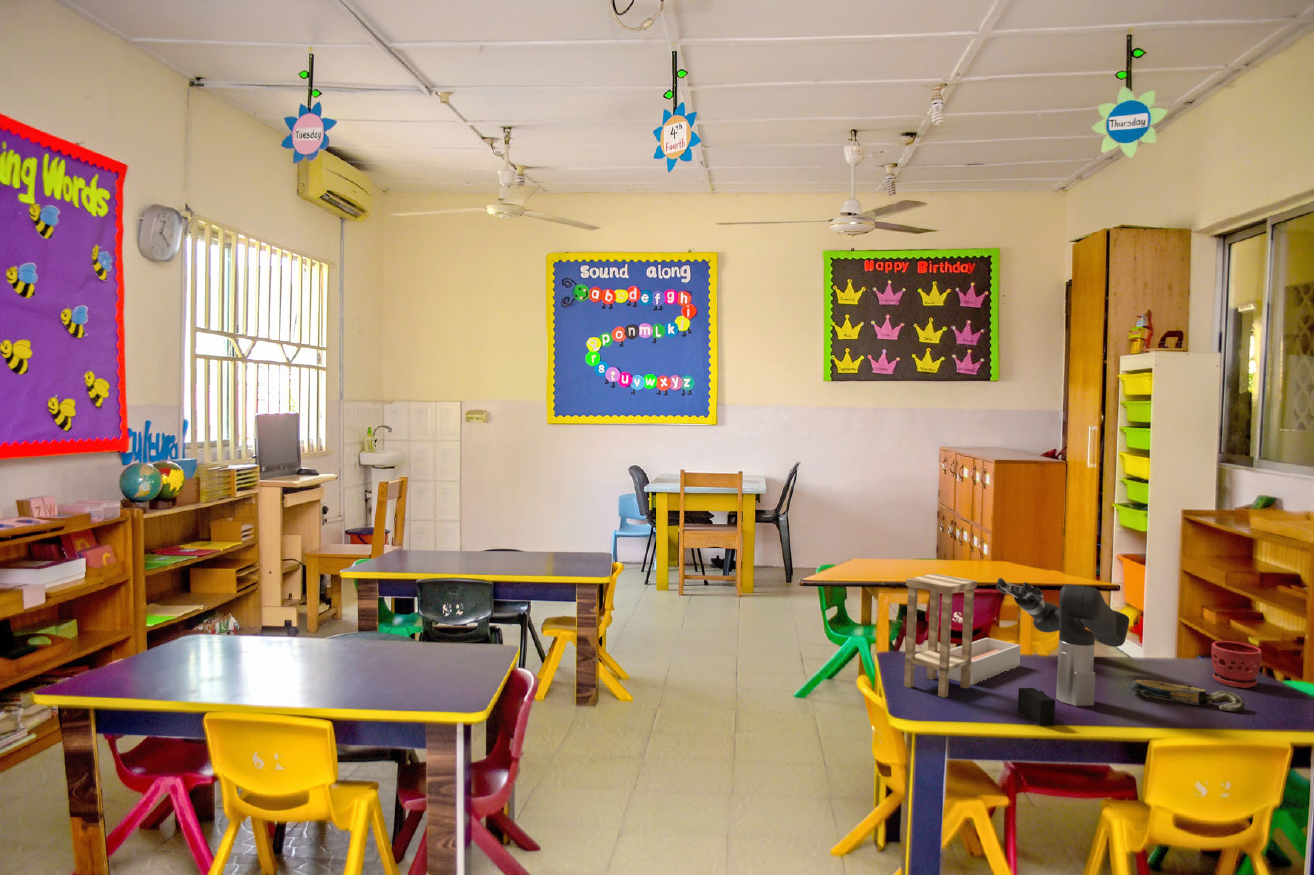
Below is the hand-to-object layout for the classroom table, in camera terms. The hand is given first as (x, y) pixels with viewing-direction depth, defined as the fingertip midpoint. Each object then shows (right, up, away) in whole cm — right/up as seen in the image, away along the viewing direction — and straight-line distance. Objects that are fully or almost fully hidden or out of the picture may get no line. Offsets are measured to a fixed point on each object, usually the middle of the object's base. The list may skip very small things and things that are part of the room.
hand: (1011, 582), depth 292 cm
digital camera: (-16, -28, -56) cm, 65 cm away
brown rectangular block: (-15, -25, -12) cm, 31 cm away
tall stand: (-35, -26, -31) cm, 53 cm away
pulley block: (+35, -29, -37) cm, 59 cm away
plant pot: (+62, -29, -18) cm, 71 cm away
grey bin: (-16, -26, -13) cm, 33 cm away
